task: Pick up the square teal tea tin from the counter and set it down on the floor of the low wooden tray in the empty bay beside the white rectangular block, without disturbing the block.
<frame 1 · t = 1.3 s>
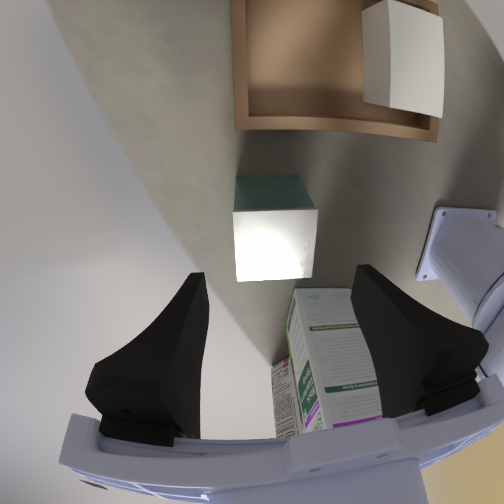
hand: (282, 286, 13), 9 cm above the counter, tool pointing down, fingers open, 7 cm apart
syrup box: (317, 307, 27), on the counter
juice carton: (310, 358, 32), on the counter
tea tin: (267, 204, 21), on the counter
white rectangular block: (388, 59, 15), point 1 cm above the counter, touching wooden tray
wooden tray: (338, 52, 15), on the counter
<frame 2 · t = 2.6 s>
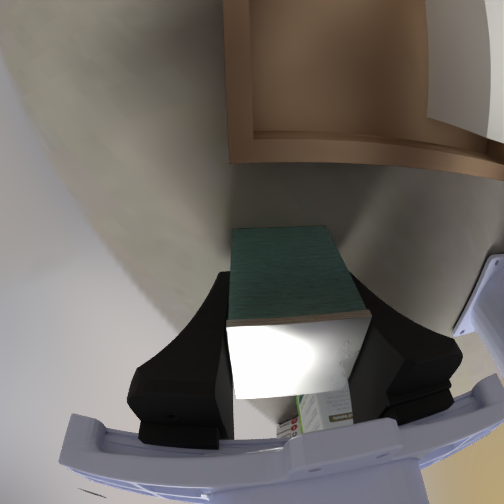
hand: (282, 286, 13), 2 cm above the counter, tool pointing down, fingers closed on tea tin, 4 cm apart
syrup box: (335, 373, 21), on the counter
juice carton: (322, 415, 25), on the counter
tea tin: (278, 265, 15), on the counter, touching gripper
white rectangular block: (459, 57, 8), point 1 cm above the counter, touching wooden tray
wooden tray: (392, 37, 8), on the counter
when the fingers open (3 cm above the counter, at t = 6.2 s): tea tin stays where it is, resting on wooden tray.
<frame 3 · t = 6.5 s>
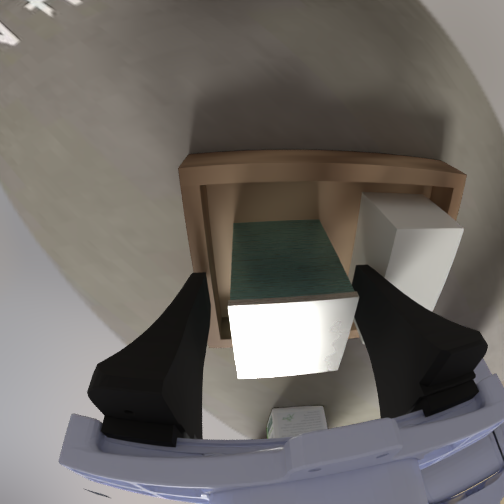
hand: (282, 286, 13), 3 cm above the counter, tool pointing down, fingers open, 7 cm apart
syrup box: (293, 415, 28), on the counter
tea tin: (276, 257, 16), point 1 cm above the counter, touching wooden tray
white rectangular block: (383, 248, 16), point 1 cm above the counter, touching gripper, wooden tray
wooden tray: (323, 245, 16), on the counter
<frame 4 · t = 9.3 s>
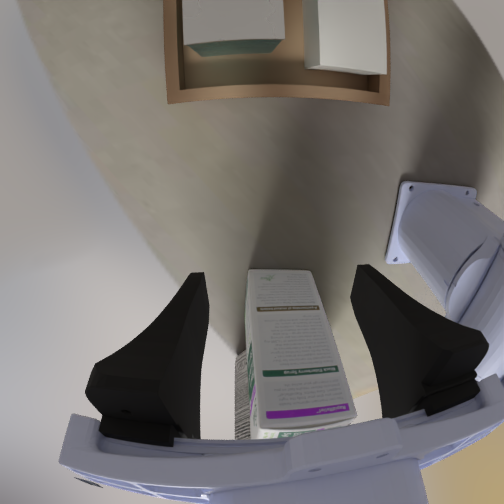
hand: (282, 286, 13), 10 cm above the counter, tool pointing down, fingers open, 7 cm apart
syrup box: (277, 291, 27), on the counter
juice carton: (277, 348, 31), on the counter
tea tin: (235, 25, 14), point 1 cm above the counter, touching wooden tray
white rectangular block: (332, 26, 14), point 1 cm above the counter, touching wooden tray
wooden tray: (277, 23, 14), on the counter
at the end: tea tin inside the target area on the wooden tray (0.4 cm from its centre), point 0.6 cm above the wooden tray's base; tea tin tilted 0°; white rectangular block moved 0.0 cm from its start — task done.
